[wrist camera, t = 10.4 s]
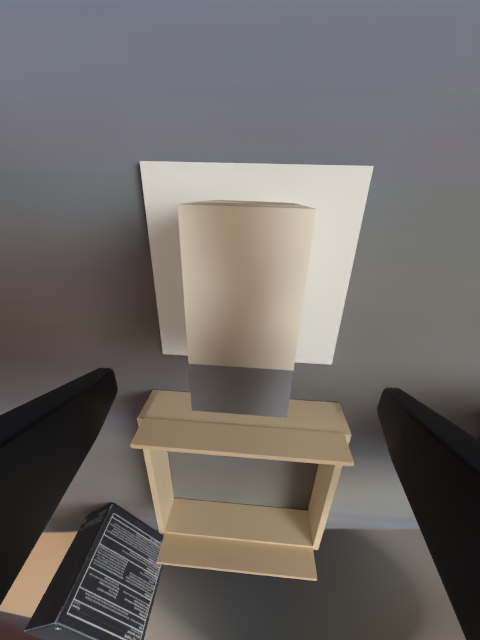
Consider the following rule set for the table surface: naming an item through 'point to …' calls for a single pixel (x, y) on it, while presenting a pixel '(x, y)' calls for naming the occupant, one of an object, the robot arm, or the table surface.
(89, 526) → the small box
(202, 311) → the block
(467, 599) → the robot arm
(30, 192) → the table surface
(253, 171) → the white square tile
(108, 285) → the table surface
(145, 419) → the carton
